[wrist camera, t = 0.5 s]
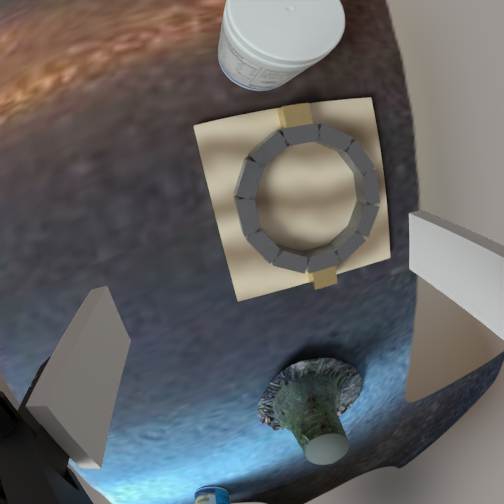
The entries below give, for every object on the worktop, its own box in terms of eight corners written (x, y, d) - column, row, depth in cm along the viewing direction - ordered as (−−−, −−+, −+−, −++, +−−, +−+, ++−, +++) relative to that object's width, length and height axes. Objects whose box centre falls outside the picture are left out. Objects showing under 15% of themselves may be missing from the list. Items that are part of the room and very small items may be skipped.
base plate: (193, 126, 33) (193, 125, 32) (366, 98, 35) (371, 97, 34) (236, 297, 41) (237, 301, 40) (386, 254, 42) (390, 257, 41)
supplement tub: (261, 9, 29) (294, -52, 15) (312, 63, 32) (371, 27, 19) (199, 52, 30) (198, -2, 17) (252, 109, 33) (285, 85, 20)
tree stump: (288, 439, 54) (296, 507, 36) (234, 369, 51) (225, 437, 34) (372, 398, 52) (405, 458, 34) (329, 318, 50) (362, 372, 32)
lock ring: (215, 121, 32) (216, 119, 30) (354, 99, 33) (364, 97, 31) (256, 295, 40) (260, 305, 38) (375, 261, 41) (384, 268, 39)
